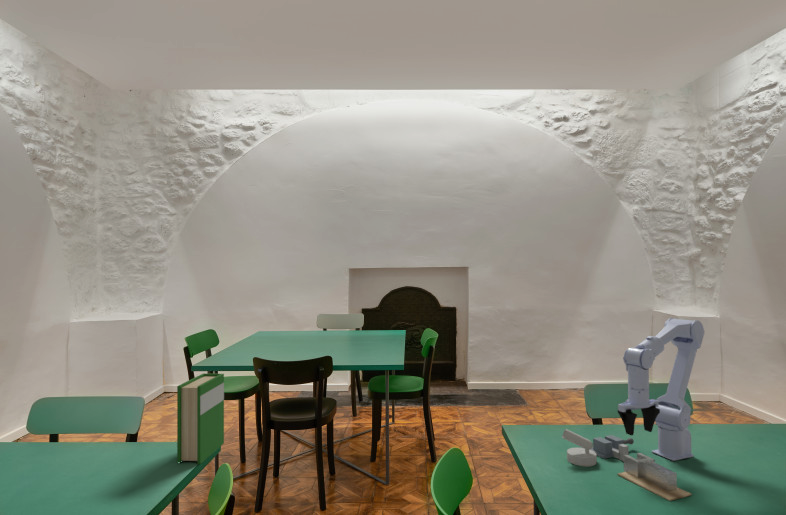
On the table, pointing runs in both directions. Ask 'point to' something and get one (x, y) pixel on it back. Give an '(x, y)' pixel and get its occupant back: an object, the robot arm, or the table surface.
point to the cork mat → (655, 487)
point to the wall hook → (580, 450)
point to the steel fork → (650, 471)
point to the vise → (611, 447)
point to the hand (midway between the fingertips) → (638, 432)
